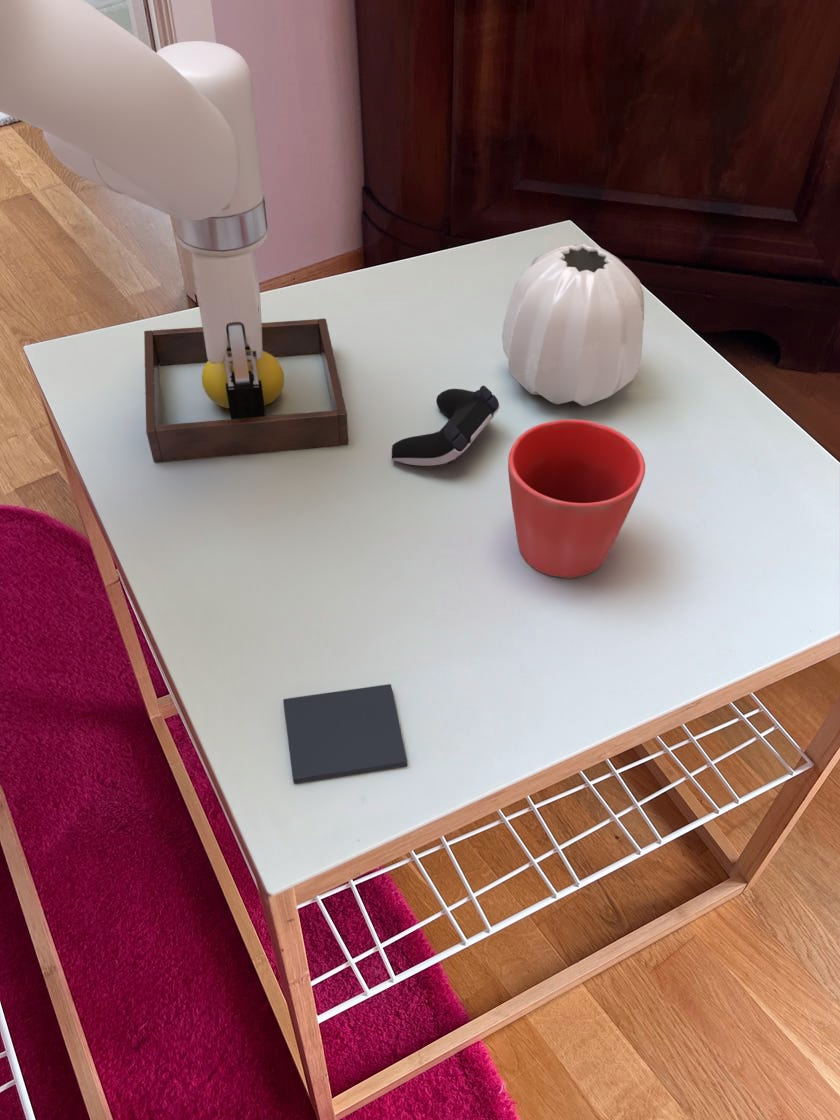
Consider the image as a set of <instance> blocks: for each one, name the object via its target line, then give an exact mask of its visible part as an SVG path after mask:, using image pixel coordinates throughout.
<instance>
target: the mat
mask: <svg viewBox="0 0 840 1120" xmlns="http://www.w3.org/2000/svg"><path fill="white" fill-rule="evenodd" d="M282 702H283V709H284V717H285V725H286V734H287V742H288V750H289V758H290V767H291V774H292V783H293V784H300V783H306V782H307V783H308V782H312V781H319V780H326V779H331V778H338V777H344V776H351V775H358V774H363V773H371V772H376V771H382V770H389V769H395V768H400V767H407V766H408V758H407V754H406V749H405V745H404V739H403V735H402V731H401V730H402V729H401V725H400V721H399V715H398V711H397V707H396V701H395V697H394V692H393V688H392V684H391V683H387V684H381V685H373V686H368V687H366V686H365V687H360V688H352V689H345V690H338V691H331V692H324V693H316V694H309V695H303V696H296V697H289V698H283V700H282Z"/></svg>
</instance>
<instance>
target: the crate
mask: <svg viewBox="0 0 840 1120" xmlns="http://www.w3.org/2000/svg"><path fill="white" fill-rule="evenodd" d="M143 338H144V340H143V341H144V342H143V343H144V346H143V347H144V386H145V387H144V389H145V390H144V391H145V393H144V394H145V395H144V397H145V433H146V437H147V441H148V444H149V448H150V453H151V458H152V461H153V463H161V462H173V461H184V460H193V459H206V458H216V457H226V456H227V457H229V456H237V455H249V454H258V453H270V452H279V451H280V452H281V451H292V450H302V449H313V448H323V447H324V448H325V447H334V446H347V445H349V424H348V423H349V421H348V411H347V407H346V403H345V399H344V394H343V390H342V385H341V381H340V376H339V372H338V366H337V363H336V359H335V354H334V349H333V345H332V340H331V335H330V332H329V327H328V323H327V319H326V318H315V319H313V318H312V319H299V320H286V321H285V320H283V321H271V322H262V351H265V352H267V353H269V354H270V355H272V356H273V357H274V358H275V357H283V356H284V357H285V356H286V357H287V356H298V355H300V356H301V355H313V354H314V355H315V354H320V355H321V360H322V366H323V370H324V376H325V380H326V384H327V387H328V388H327V389H328V390H327V391H328V395H329V399H330V404H331V408H332V409H331V410H322V411H321V410H320V411H311V412H310V411H308V412H298V413H286V414H276V415H275V414H274V415H266V416H262V417H250V418H238V419H231V418H230V419H217V420H215V419H214V420H206V421H204V420H203V421H194V422H182V423H171V424H169V423H168V424H162V405H161V403H162V402H161V372H160V366H166V365H178V364H191V363H192V364H193V363H204V362H205V363H207V361H208V359H207V352H206V346H205V340H204V333H203V327H202V326H199V327H198V326H197V327H196V326H195V327H183V328H182V327H181V328H169V329H154V330H153V329H152V330H151V329H150V330H144V331H143Z"/></svg>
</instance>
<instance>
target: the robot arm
mask: <svg viewBox="0 0 840 1120" xmlns="http://www.w3.org/2000/svg"><path fill="white" fill-rule="evenodd" d="M243 57H244V56H242V55H241V54H240V53H239V52H238V51H237V50H235V49H233V48H232V47H230V46H227V45H225V44H222V43H218V42H213V41H212V42H211V41H204V40H191V41H189V40H188V41H182V42H176V43H172V44H168V45H166V46H164V47H162V48H160V49H158V50H157V51H155V50H153V49H152V47H149V46H148V45H147V44H146V43H145V42H143V41H141V40H140V39H139V38H137V37H136V36H134V35H133V34H132V33H131V32H129V31H128V30H126V29H125V28H124V27H122V26H121V25H120V24H118V23H117V22H115V21H114V20H112V19H111V18H109V17H108V16H107V15H105V14H104V13H103V12H101V11H100V10H98V9H97V8H95V7H94V6H93V5H91V4H90V3H88V2H87V1H86V0H0V113H2V114H4V115H6V116H10V117H11V118H14V119H16V120H19V121H21V122H24V123H26V124H27V125H30V126H32V127H35V128H36V129H39V130H41V131H42V135H43V137H44V140H45V142H46V144H47V146H48V148H49V150H50V151H51V153H52V154H53V156H54V157H55V158H56V159H57V160H58V162H59V163H61V164H62V165H63V166H64V167H65V168H67V169H68V170H70V172H72V173H74V174H75V175H77V176H79V177H80V178H83V179H85V180H87V181H89V182H92V183H93V184H95V185H98V186H100V187H103V188H105V189H108V190H110V191H112V192H114V193H117V194H120V195H123V196H124V197H128V198H130V199H132V200H134V201H137V202H139V203H141V204H144V205H146V206H148V207H150V208H153V209H154V210H157V211H159V212H161V213H164V214H166V215H167V216H171V217H172V223H173V228H174V234H175V238H176V241H177V243H178V244H179V245H180V247H182V248H183V249H184V250H187V251H188V252H190V254H191V255H190V256H191V264H192V265H191V266H192V270H193V278H194V285H195V291H196V297H197V298H196V299H197V303H198V309H199V314H200V321H201V327H203V333H204V340H205V346H206V352H207V359H208V360H209V361H210V362H211V363H212V364H215V363H222V361H223V358H224V361H225V367H226V374H227V381H228V383H226V391H227V397H228V403H229V408H228V409H229V415H230V419H238V418H250V417H262V416H267V415H266V408H265V405H264V399H263V391H262V383H261V380H260V381H258V374H257V366H256V358H257V361H258V360H259V359H260V358H261V357H262V323H263V321H262V320H263V319H262V302H261V291H260V290H261V289H260V281H259V271H258V260H257V259H258V258H257V252H256V251H257V249H259V248H260V247H261V246H262V245H263V244H265V243H266V241H267V239H268V237H269V228H268V227H269V226H268V220H267V219H268V218H267V211H266V201H265V200H266V199H265V193H264V192H265V190H264V189H265V188H264V180H263V172H262V161H261V155H260V145H259V135H258V134H259V133H258V125H257V116H256V115H257V114H256V107H255V97H254V96H255V95H254V87H253V79H252V74H251V71H250V67H249V66H248V64H247V61H246V60H245V59H244V58H243ZM246 350H250V351H246ZM228 351H231V353H228ZM247 361H250V364H251V371H248V365H247ZM231 363H233V367H234V372H232V367H231Z"/></svg>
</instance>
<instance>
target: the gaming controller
mask: <svg viewBox="0 0 840 1120" xmlns="http://www.w3.org/2000/svg"><path fill="white" fill-rule="evenodd" d="M436 405H437V409H438V410H439V411H440V412H441V413H442V414H444V415H445V416H448V417H450V418H449V420H448V421H447V422H446V423H445V424H444V425H443V427H441V429H440V430H439V431H436V432H433V433H427V434H422V435H421V434H420V435H415V436H409V437H406V438H402V439H399V440H398V441H395V442H394V444H392V445H391V461H395V462H397V463H401V464H406V465H411V466H424V467H425V466H437V465H445V464H447V465H450V464H452V463H454V461H455V460H456V459H458V458H460V457H461V456H462V455H463V453H464V452H465V451H466V450H467V449H469V447H470V445H471V444H472V443H473V442H474V441H475V440H476V438H477V437H478V436H479V434H481V432H482V431H483V430H484V428H485V427H486V426H487V425H488V424H489V423H490V421H491V420H492V419H493V418H494V417H495V416H496V415H497V413H498V412H499V410H500V409H501V407H500V402H499V400H498V398H497V397H496V395H495V394H493V392H492V391H491V390H490V389H489V388H488V387H487V386H486V385H481V386H480V388H479V389H478V390H475V391H473V390H467V389H461V388H449V389H446V390H443V391H442V392H440V393H439V394H438V395H437V396H436Z"/></svg>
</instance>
